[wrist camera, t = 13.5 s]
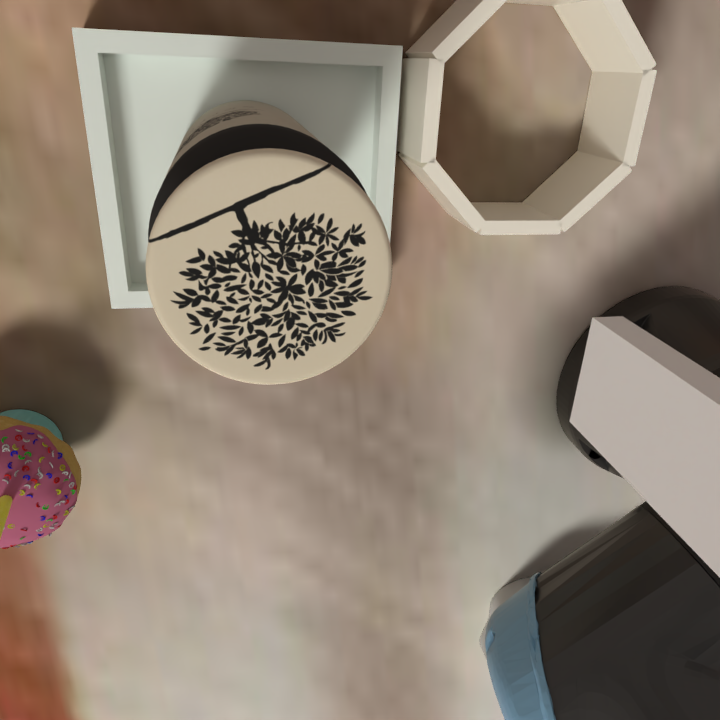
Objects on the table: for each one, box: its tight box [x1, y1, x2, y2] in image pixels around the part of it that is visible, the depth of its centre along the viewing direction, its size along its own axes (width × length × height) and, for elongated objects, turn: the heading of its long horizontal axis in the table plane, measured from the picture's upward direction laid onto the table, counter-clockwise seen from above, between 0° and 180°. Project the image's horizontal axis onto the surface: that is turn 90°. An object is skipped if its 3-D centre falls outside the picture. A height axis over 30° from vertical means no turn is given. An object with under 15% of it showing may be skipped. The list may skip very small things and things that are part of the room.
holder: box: [397, 0, 657, 235], centre depth 34 cm, size 13×13×5 cm
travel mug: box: [146, 100, 392, 385], centre depth 26 cm, size 8×8×18 cm
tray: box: [72, 28, 403, 309], centre depth 34 cm, size 16×14×2 cm
